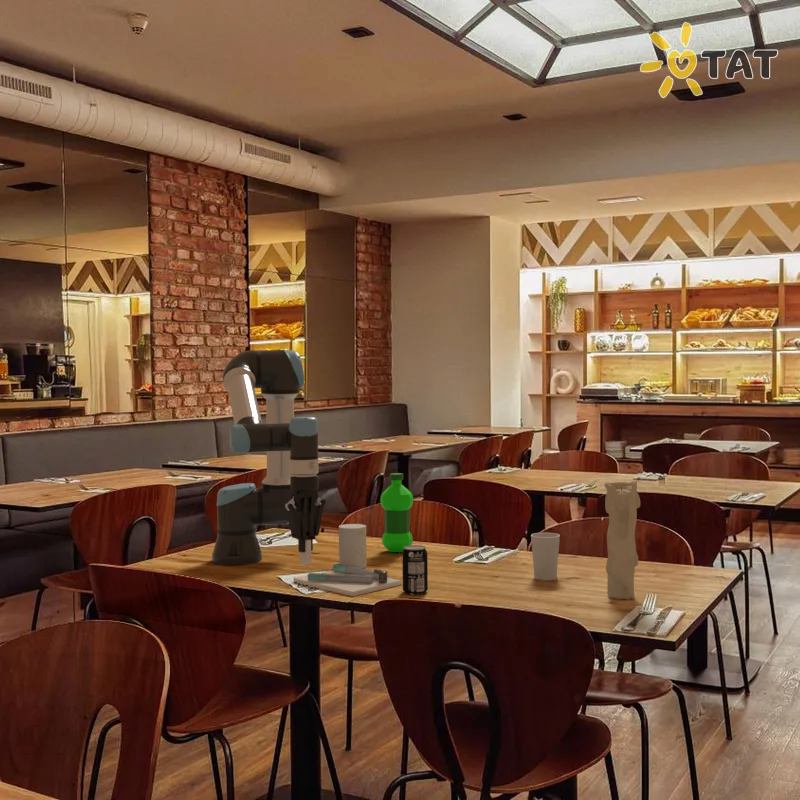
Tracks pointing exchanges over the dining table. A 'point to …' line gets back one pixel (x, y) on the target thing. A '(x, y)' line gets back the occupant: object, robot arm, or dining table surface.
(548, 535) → the cup
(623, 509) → the beige lumpy column
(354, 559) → the cup
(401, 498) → the plastic bottle
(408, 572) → the beverage can
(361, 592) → the rest board
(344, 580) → the bar
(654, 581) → the dining table surface
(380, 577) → the tongs fixed
